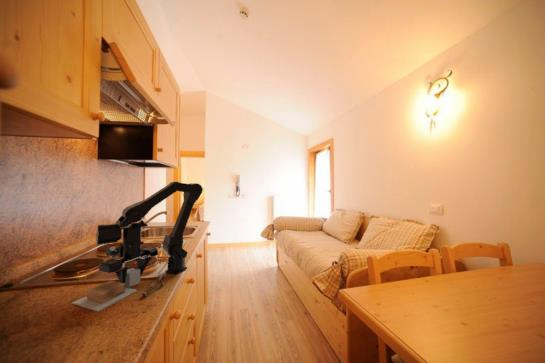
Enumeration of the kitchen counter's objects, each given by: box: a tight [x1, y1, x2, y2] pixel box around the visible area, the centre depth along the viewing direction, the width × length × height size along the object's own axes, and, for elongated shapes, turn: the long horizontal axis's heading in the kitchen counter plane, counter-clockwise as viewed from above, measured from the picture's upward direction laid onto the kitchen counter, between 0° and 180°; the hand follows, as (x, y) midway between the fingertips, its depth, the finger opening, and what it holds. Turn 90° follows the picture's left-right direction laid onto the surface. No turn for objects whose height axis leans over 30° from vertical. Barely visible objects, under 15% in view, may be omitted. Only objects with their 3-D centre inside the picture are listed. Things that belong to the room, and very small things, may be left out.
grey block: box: [125, 267, 141, 289], centre depth 75 cm, size 4×4×5 cm
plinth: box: [86, 280, 125, 304], centre depth 66 cm, size 7×7×3 cm
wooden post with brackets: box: [140, 274, 165, 298], centre depth 71 cm, size 2×8×4 cm, turn 162°
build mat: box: [71, 287, 138, 313], centre depth 66 cm, size 12×12×1 cm
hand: (131, 281), depth 75 cm, fingers open, 6 cm apart
